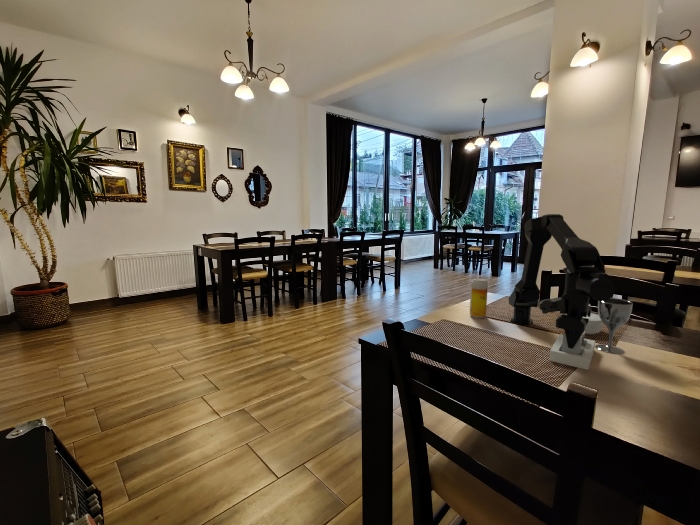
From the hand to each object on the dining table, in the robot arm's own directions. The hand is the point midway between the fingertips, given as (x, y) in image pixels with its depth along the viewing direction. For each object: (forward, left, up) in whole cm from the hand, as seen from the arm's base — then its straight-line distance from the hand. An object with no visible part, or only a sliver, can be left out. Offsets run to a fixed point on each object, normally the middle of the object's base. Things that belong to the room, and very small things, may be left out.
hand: (571, 345), depth 93 cm
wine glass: (-16, +8, -4) cm, 18 cm away
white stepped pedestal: (-4, 0, -4) cm, 6 cm away
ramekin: (-31, 0, -5) cm, 31 cm away
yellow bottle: (-23, -34, -4) cm, 41 cm away
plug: (0, 0, -2) cm, 2 cm away
